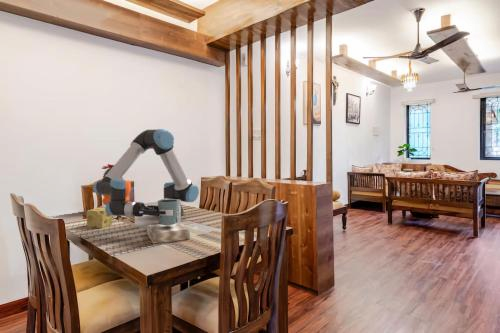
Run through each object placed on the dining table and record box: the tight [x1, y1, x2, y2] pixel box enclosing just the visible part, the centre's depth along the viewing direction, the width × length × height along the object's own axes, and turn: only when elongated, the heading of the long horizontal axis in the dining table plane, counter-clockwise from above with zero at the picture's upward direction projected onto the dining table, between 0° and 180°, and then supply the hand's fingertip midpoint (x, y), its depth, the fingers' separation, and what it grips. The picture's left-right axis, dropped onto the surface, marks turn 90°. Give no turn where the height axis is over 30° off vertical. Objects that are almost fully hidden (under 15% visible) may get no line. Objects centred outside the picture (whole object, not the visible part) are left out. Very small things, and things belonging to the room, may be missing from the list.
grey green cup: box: [157, 198, 178, 225], centre depth 161 cm, size 10×10×12 cm
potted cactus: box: [98, 163, 132, 208], centre depth 227 cm, size 22×22×35 cm
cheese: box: [86, 207, 114, 229], centre depth 183 cm, size 10×11×10 cm
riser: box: [146, 222, 191, 244], centre depth 162 cm, size 18×18×5 cm
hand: (176, 211), depth 161 cm, fingers closed on grey green cup, 9 cm apart
